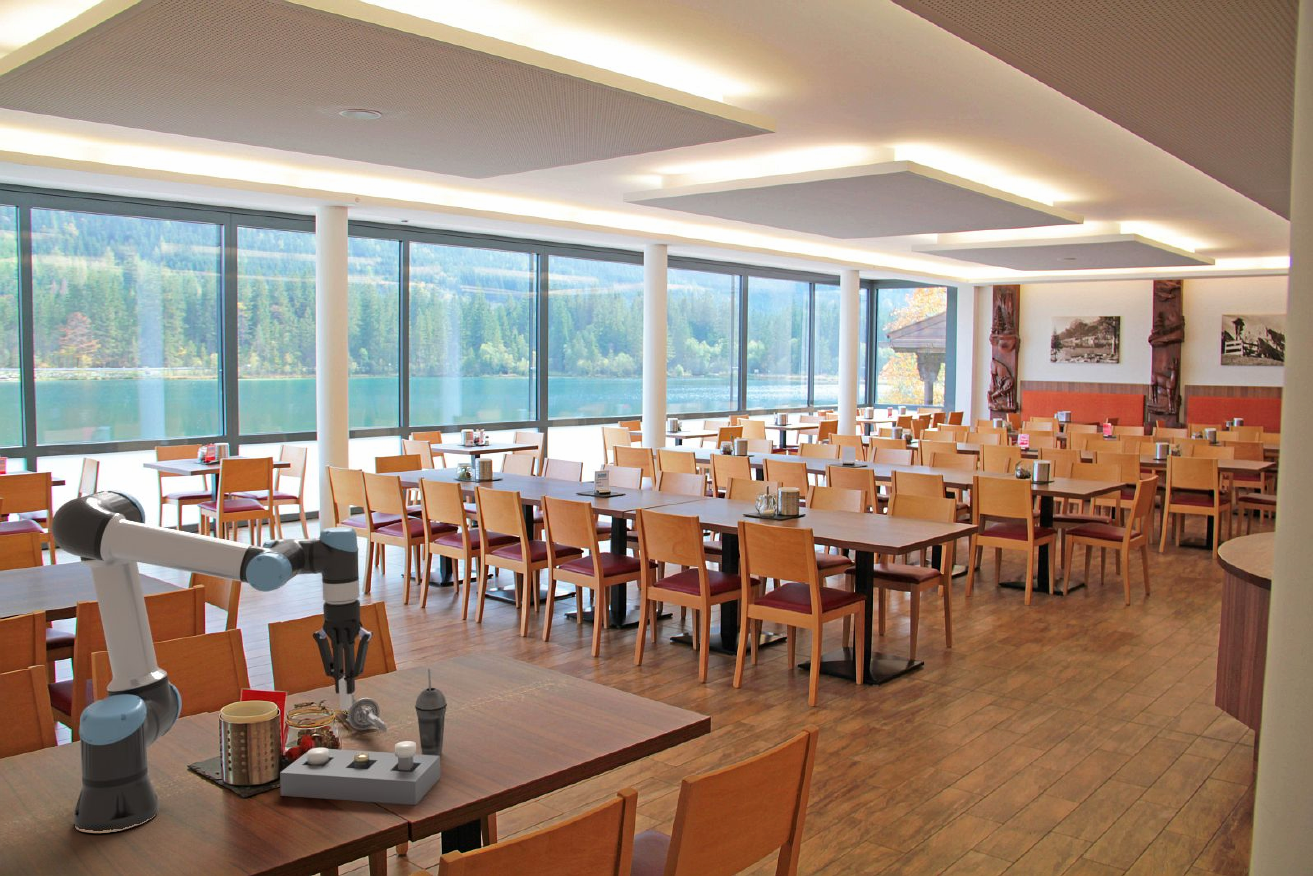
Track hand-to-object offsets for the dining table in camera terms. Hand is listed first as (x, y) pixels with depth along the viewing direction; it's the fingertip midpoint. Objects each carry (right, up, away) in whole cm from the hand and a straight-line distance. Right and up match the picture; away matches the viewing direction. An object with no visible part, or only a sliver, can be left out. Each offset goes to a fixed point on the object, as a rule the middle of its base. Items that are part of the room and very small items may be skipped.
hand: (345, 708), depth 220 cm
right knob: (+13, -12, -1) cm, 18 cm away
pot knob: (+3, -13, 0) cm, 14 cm away
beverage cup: (+14, -16, +19) cm, 29 cm away
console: (+3, -17, +1) cm, 17 cm away
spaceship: (-6, -15, +35) cm, 38 cm away
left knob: (-6, -15, +2) cm, 16 cm away
